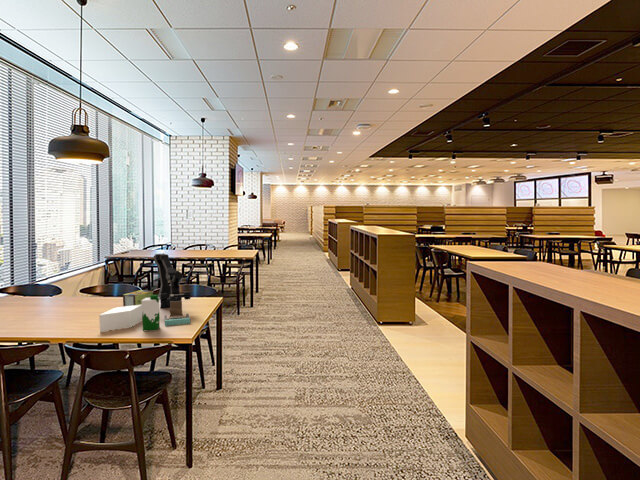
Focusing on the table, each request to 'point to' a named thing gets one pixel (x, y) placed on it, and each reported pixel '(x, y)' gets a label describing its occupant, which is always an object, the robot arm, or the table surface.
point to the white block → (120, 317)
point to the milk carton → (150, 313)
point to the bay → (177, 321)
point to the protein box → (135, 297)
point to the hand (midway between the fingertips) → (176, 307)
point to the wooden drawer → (176, 310)
